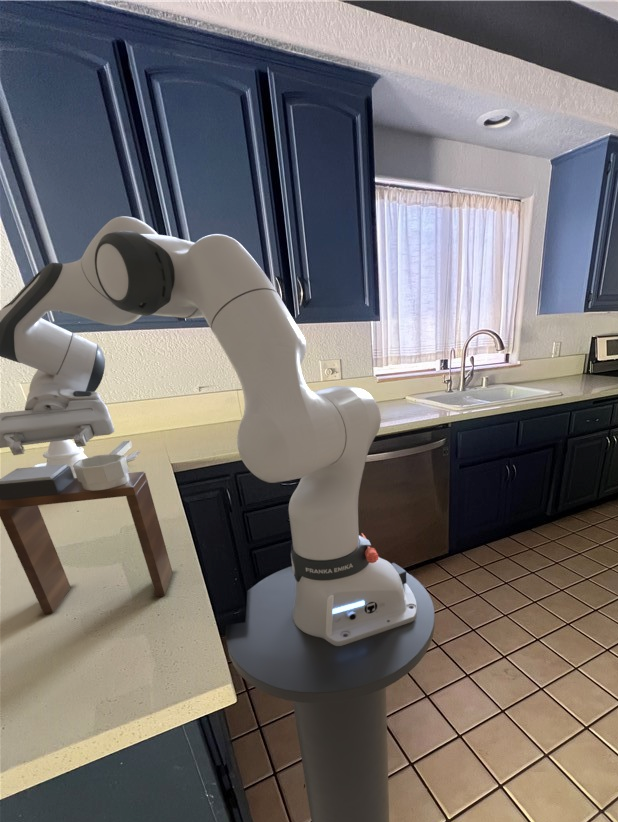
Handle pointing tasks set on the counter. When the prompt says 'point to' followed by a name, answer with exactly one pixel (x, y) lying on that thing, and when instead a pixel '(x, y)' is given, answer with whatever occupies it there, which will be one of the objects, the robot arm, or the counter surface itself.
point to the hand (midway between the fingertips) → (49, 447)
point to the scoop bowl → (104, 469)
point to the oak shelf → (41, 553)
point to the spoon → (128, 457)
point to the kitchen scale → (35, 481)
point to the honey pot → (64, 454)
